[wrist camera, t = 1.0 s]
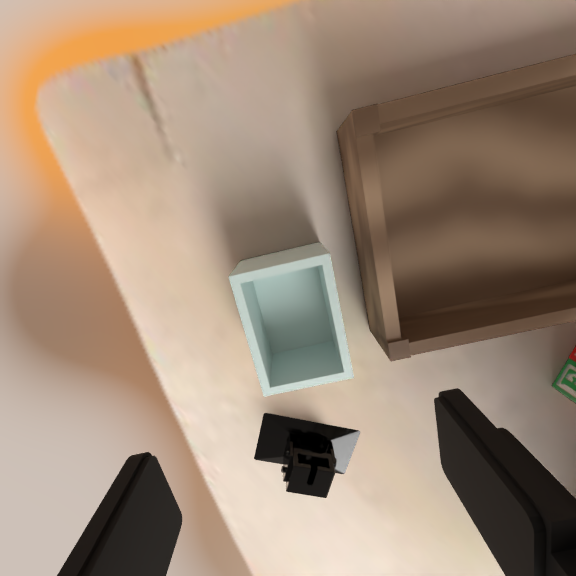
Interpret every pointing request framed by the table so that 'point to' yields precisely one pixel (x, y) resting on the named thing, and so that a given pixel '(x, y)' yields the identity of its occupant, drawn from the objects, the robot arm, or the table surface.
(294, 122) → the table surface
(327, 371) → the small crate
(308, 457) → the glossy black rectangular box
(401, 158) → the big crate
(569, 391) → the stack of blocks
